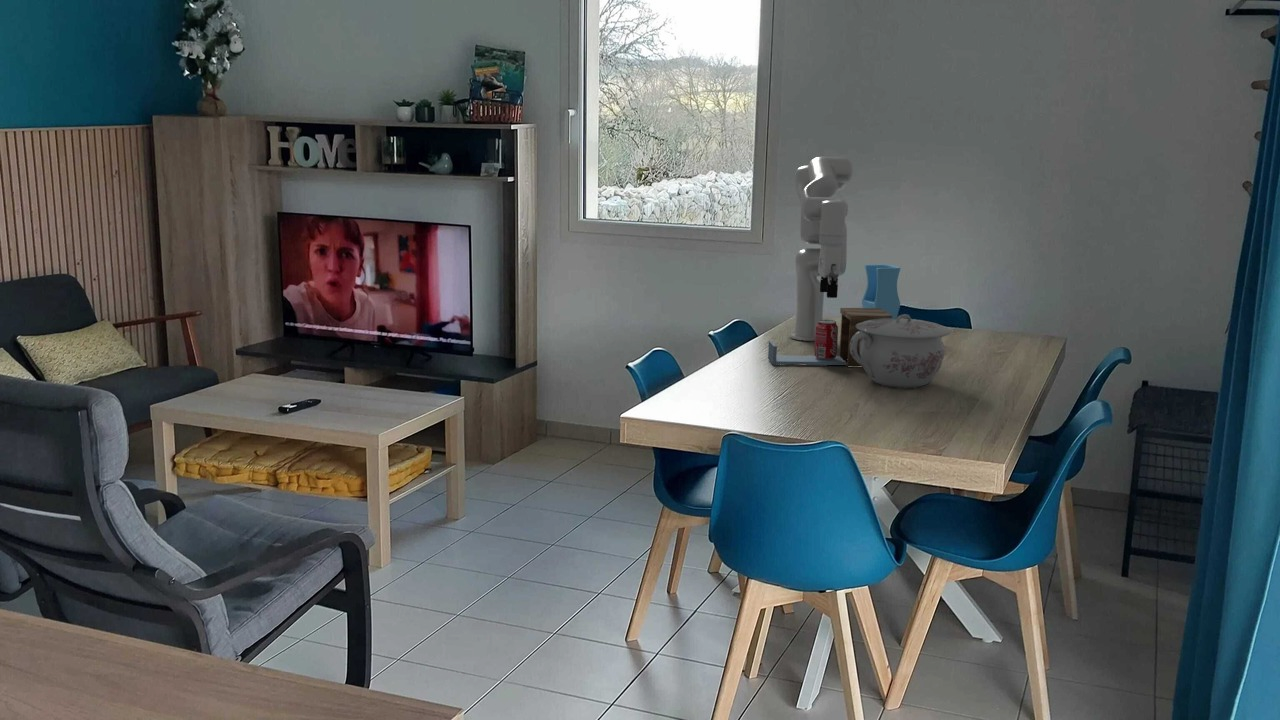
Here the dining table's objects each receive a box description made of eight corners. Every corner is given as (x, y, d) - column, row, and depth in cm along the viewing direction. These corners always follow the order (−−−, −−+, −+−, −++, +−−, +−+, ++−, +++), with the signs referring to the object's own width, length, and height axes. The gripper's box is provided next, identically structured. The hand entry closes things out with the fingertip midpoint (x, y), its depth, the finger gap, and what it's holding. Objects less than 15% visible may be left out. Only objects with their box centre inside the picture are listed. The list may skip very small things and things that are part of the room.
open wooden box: (837, 358, 370) (840, 307, 367) (877, 358, 371) (880, 308, 367) (847, 367, 356) (851, 315, 353) (888, 368, 357) (892, 315, 354)
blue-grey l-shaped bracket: (768, 359, 366) (768, 340, 365) (838, 359, 368) (839, 341, 366) (772, 365, 357) (773, 346, 356) (845, 365, 359) (846, 346, 358)
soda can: (835, 356, 366) (837, 319, 364) (837, 361, 359) (839, 323, 357) (813, 355, 367) (815, 318, 364) (814, 360, 360) (816, 322, 357)
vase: (859, 333, 414) (864, 264, 409) (884, 332, 417) (888, 264, 411) (873, 338, 405) (877, 268, 399) (897, 337, 408) (902, 267, 402)
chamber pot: (947, 377, 347) (953, 309, 343) (946, 397, 321) (952, 325, 317) (854, 369, 354) (858, 303, 350) (845, 389, 328) (849, 318, 324)
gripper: (813, 236, 363) (810, 289, 367) (825, 244, 346) (822, 299, 350) (837, 237, 363) (833, 290, 367) (850, 244, 347) (846, 299, 351)
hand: (828, 294), depth 359 cm, fingers open, 9 cm apart
